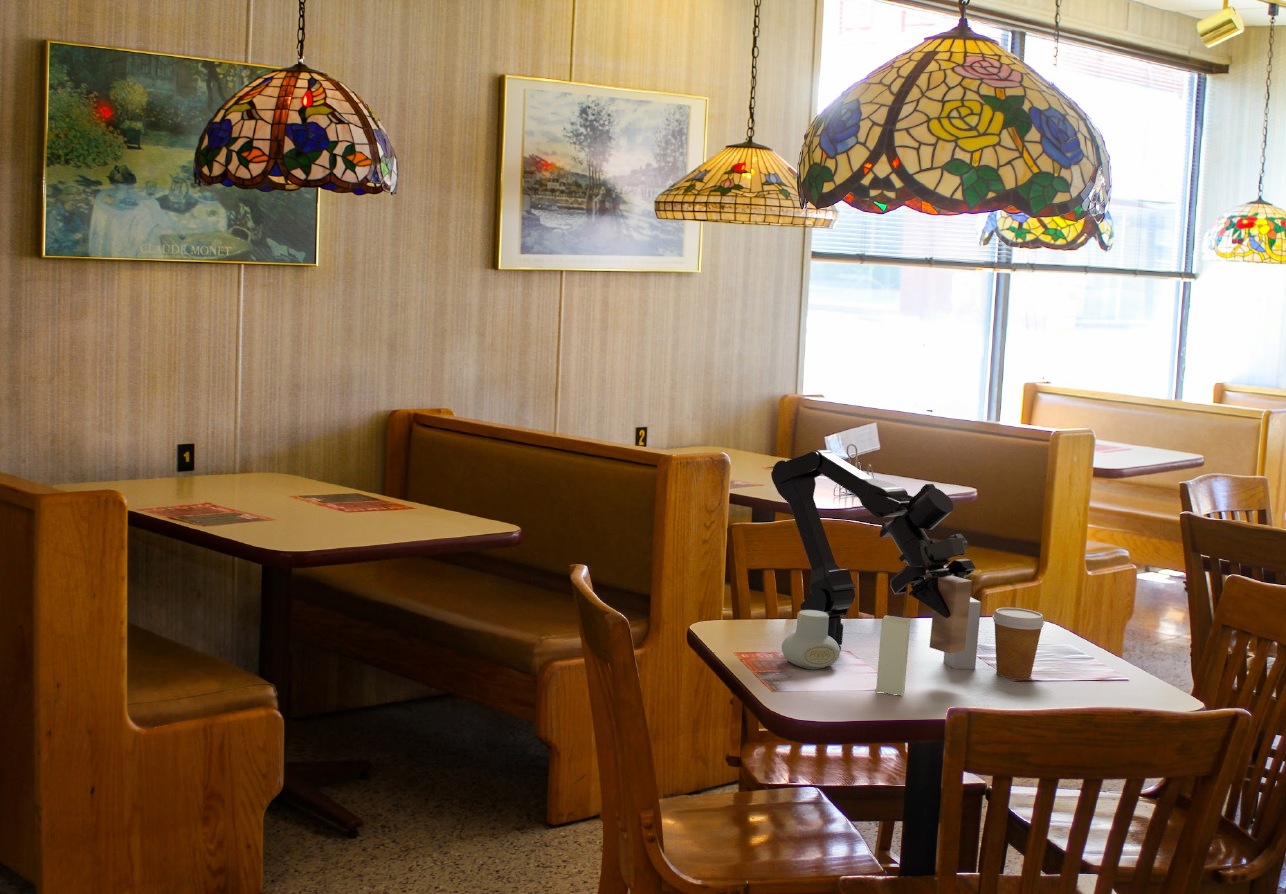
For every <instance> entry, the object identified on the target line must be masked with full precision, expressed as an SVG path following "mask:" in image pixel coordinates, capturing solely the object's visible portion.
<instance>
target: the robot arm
mask: <svg viewBox="0 0 1286 894" xmlns="http://www.w3.org/2000/svg"><path fill="white" fill-rule="evenodd" d="M770 473H771V474H770V477H771V480H772V483H773V484H774V487H775V488H776V491H777V493H778V494H779V495H780V496H781V497H782V498H783V500H784V501H785V502H786V503H787V504H788V505H789V506H790V509H791V512H792V515H793V519H794V521H795V524H796V527H797V530H798V533H799V536H800V539H801V541H802V545H803V548H804V550H805V554H806V557H807V560H808V563H809V566H810V568H811V575H810V580H809V590H810V595H809V596H808V597H807V598H806V599H805V600H804V601H802V602H801V603H800V611H802V610H816V611H822V612H825V613H827V614H828V615H829V621H828V636H830V637H831V638H833V639H834V640H835V641H836V642H837V644H838V646H839V648H840V650H841V649H842V644H843V635H844V634H843V633H844V624H843V623H842V617H841V616H847V615H848V613H849V611H850V608H851V606H852V605H853V604H854V601H855V599H856V591H855V589H856V588H857V586H856V585H855V583H854V581H853V579H852V574H851V572H850V570H849V568H843V569H842V568H841V567H840V566H838V563H836V560H835V558H834V555H833V552H832V548H831V546H830V544H829V540H828V538H827V534H826V532H825V528H824V526H823V522H822V520H821V517H820V514H819V511H818V508H817V505H816V502H815V499H814V494H815V490H816V486H817V485H816V484H817V483H816V478H818V477H820V476H822V475H823V476H825V477H826V478H828V479H829V480H831V481H833V482H834V483H836V484H837V485H839V486H840V487H841V488H843V489H844V490H846V491H848V492H850V493H851V494H853V495H855V497H857V498H858V500H859V501H860V503H861V506H862V507H863V508H865V510H866V511H867V512H869V513H870V514H871V515H872V517H875V518H890V517H891V518H892V519H891V520H890V521H888V522H882V523H881V529H880V531H879V538H888V537H889V538H890V537H891V538H892V540H893V542H894V543H895V545H896V547H897V549H898V550H899V552H900V553H901V555H900V556H898V559H899V561H900V563H907V565H906V566H905V567H903V568H902V569H901V570H900V571H899V572H898V573H896V574H895V575H894V576H893V577H892V578H891V579H890V588H891V590H892V592H893V593H894V595H895V596H897V595H903V594H906V593H907V586H908V585H911V586H910V587H911V591H910V592H908V596H909V597H913V598H914V599H916V600H917V601H919V602H921V603H923V604H924V605H925V606H927V607H929V608H930V609H932V611H933V610H935V611H936V612H938V613H939V614H940V615H942V616H943V617H945V618H948V617H950V615H951V614H950V612H949V609H948V607H947V605H946V603H945V601H944V599H943V597H942V595H941V593H940V591H939V589H938V577H945V576H955V577H959V578H963V579H967V578H968V577H969V576H970V575H971V574H972V573H973V572H975V571H976V570H977V567H976V565H974V563H973V561H972V560H971V559H968V558H961V559H954V560H953V561H952V560H951V558H955V557H957V556H960V555H961V556H964V555H967V552H966V551H967V550H968V548H969V542H968V541H967V540H966V538H965V537H964V536H963V534H962V533H956V534H954V535H949V537H948V538H946V539H942V540H939V541H938V540H937V539H935V538H931V539H929V538H930V537H928V535H927V534H926V532H925V530H933V529H934V528H935V527H936V526H937V525H938V524H939V523H940V522H942V521H943V520H944V519H945V518H946V517H948V516H949V514H951V513H952V512H953V511H954V502H953V500H952V499H951V497H950V496H949V495H947V494H946V493H945V492H944V491H942V489H939V488H937V487H936V486H935V484H934V483H926V484H924V485H923V486H922V487H921V489H920V490H919V491H918V492H917V493H916V494H914V495H911V494H909V493H908V491H907V490H906V489H905V488H904V487H901V486H900V485H897V484H895V483H892V482H889V481H883V480H879V479H876V478H873V477H872V476H870V475H869V474H867V473H866V472H864V471H862V470H860V469H858V468H857V467H855V466H854V465H852V464H850V463H849V462H847V461H846V460H843V459H842V458H841V457H839V456H837V455H835V453H834V451H832V450H830V449H815V450H812V451H810V452H808V453H806V454H803V455H800V456H797V457H793V458H792V459H784V460H783V459H782V460H778V461H777V462H775V463H774V465H773V468H772V471H771V472H770ZM945 565H947V566H945Z"/></svg>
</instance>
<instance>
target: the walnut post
mask: <svg viewBox="0 0 1286 894" xmlns="http://www.w3.org/2000/svg"><path fill="white" fill-rule="evenodd" d="M972 583H973V581H972V579H971V580H970V579H967V578H965V579H963V578H959V577H955V576H945V577H938V589H939V591H940V593H941V595H942V597H943V599H944V601H945V603H946V605H947V607H948V609H949V612H950V614H951V615H950V617H948V618H945V617H943V616H942V615H940V614H939V613H938V612H936V611H935V610H933V609H932V616H931V617H932V618H931V625H930V627H931V629H930V637H929V638H930V639H929V648H930V649H934V650H937V651H940V652H942V653H944V652H946V653H949V654H951V653H956V652H961V651H965V644H966V634H967V624H968V614H969V604H970V597H971V593H972Z"/></svg>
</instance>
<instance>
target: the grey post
mask: <svg viewBox="0 0 1286 894" xmlns="http://www.w3.org/2000/svg"><path fill="white" fill-rule="evenodd" d="M981 605H982V602H981V601H980V600H977V599H975V598H973V597H972V596H970V604H969V614H968V624H967V634H966V644H965V651H961V652H956V653H951V654H949V653H946V652H943V661H942V662H943V663H944V664H946V665H947V666H949V667H951V668H952V669H954V670H956V669H957V670H959V669H962V670H963V669H964V670H965V669H967V670H969V669H973V670H974V669H976V666H977V665H976V663H977V653H978V643H979V642H978V641H979V632H980V631H979V630H980V619H981V609H982V608H981V607H982V606H981Z"/></svg>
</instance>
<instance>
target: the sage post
mask: <svg viewBox="0 0 1286 894" xmlns="http://www.w3.org/2000/svg"><path fill="white" fill-rule="evenodd" d="M910 630H911V618H909V617H900V616H894V615H892V616H891V615H884V616H883V618H882V619H881V623H880V637H879V649H878V650H879V651H878V661H877V663H878V665H877V675H876V688H875V693H876V692H884V693H888V694H897V695H901V696H900V697H902V696H903V695H904V693H905V690H906V679H907V678H906V677H907V667H908V666H907V665H908V655H909V642H910ZM903 692H904V693H903ZM888 694H887V695H888ZM902 694H903V695H902Z"/></svg>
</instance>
